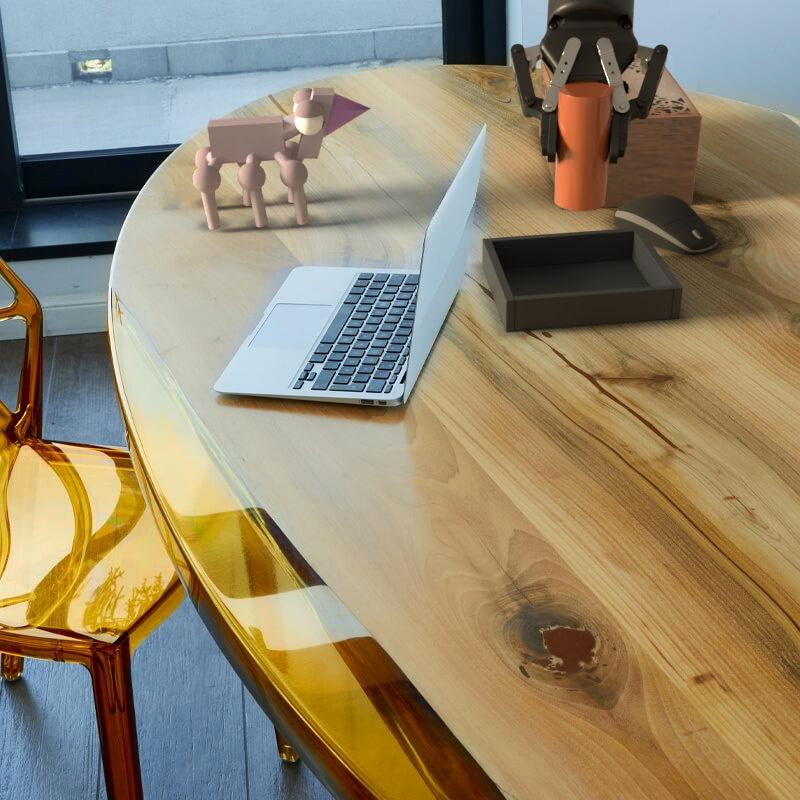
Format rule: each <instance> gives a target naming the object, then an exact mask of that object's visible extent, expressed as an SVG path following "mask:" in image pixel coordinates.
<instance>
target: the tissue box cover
mask: <svg viewBox="0 0 800 800" xmlns="http://www.w3.org/2000/svg"><path fill="white" fill-rule="evenodd" d="M621 76H622V79H623V84H624V89H625V92H626V95H627V98H628V100H631V99H634V98H637V97H638V94H639V91H640V89H641V86H642V83H643V80H644V77H645V75H644V74H643V73H641V71H640V63H639V62H638V61H637V60H634V61H633V62H632V63H631V65H630V66H629V67H628V68H627V69H626V70H625V72H624V73H623V74H622V75H621ZM552 77H553V74H552V72H551V71H550V70H549V68H548V67H547V66H546V64H545V63H544V62H543V60H542V59H540V85H539V87H540V89H539V98H541V99H545V97H546V94H547V92H548V90H549V87H550V83H551V80H552ZM702 116H703V115H702V114H701V113H700V111H699V110H698V109H697V108H696V106H695V105H694V103H693V102H692V100H691V99H690V97H688V95H687V94H686V92H685V90H683V88H682V87H681V86H680V84H679V83H678V82H677V80H676V79H675V77H674V76H673V75H672V73H671V72H670V70H669V69H668V68H667V66H665V68H664V71H663V74H662V77H661V80H660V83H659V86H658V89H657V92H656V95H655V98H654V101H653V104H652V106H651V109H650V112H649V115H648V117H647V118H646V119H642V120H641V119H638V118H637V119H634V120H631V121H630V122H629V123H628V136H627V149H626V153H625V155H624V157H623V158H618V162H617V164H609V169H608V183H607V198H606V204H605V205H604V206H602V207H601V208H600V209H603V208H604V209H605V208H606V209H607V208H619V207H620V206H621V205H623V204H625V203H627V202H629V201H632V200H635V199H637V198H641V197H644V196H649V195H656V194H665V195H671V196H675V197H677V198H679V199H681V200H683V201H684V202H686V203H687V204H688V205H689V206H693V199H694V190H695V181H696V172H697V165H698V164H697V163H698V154H699V153H698V152H699V146H700V136H701V127H702V119H703V117H702ZM538 121H539V122H538V136H539V137H540V135H541V122H540V120H539V119H538ZM545 159H546V163H547V166H548V170H549V172H550V175H551V180H552V182H553V185H554V187H555V167H556V163H548V156H545ZM560 209H561V210H565V209H564V208H561V207H560Z"/></svg>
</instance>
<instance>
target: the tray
mask: <svg viewBox="0 0 800 800" xmlns="http://www.w3.org/2000/svg"><path fill="white" fill-rule="evenodd" d="M481 255H482V257H481V258H482V265H481V266H482V271H483V274H484V276H485V279H486V282H487V285H488V287H489V290H490V293H491V296H492V298H493V302H494V305H495V307H496V309H497V312H498V316H499V317H500V321H501V323H502V326H503V330H504V332H505V333H516V332H530V331H531V332H532V331H543V330H544V331H545V330H558V329H571V328H584V327H585V328H586V327H597V326H609V325H611V326H612V325H622V324H635V323H636V324H637V323H648V322H662V321H674V320H675V321H676V320H680V316H681V307H682V299H683V291H684V290H683V289H684V287H683V286H682V285H681V283H680V282H679V281H678V279H677V278H676V276H675V274H673V272H672V270H670V268H669V266H668V265H667V263H666V262H665V261H664V259H663V258H662V257H661V255H660V254H659V252H658V250H656V248H655V246H653V245H652V244H651V242H650V241H649V240H648V238H647V237H646V235H645V234H644V233H643V231H642V230H641V228H633V229H632V228H626V229H618V228H614V229H601V230H600V229H599V230H598V229H597V230H585V231H572V232H571V231H569V232H558V233H557V232H556V233H544V234H541V233H540V234H527V235H515V236H501V237H500V236H499V237H491V238H490V237H486V238H482V253H481Z"/></svg>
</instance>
